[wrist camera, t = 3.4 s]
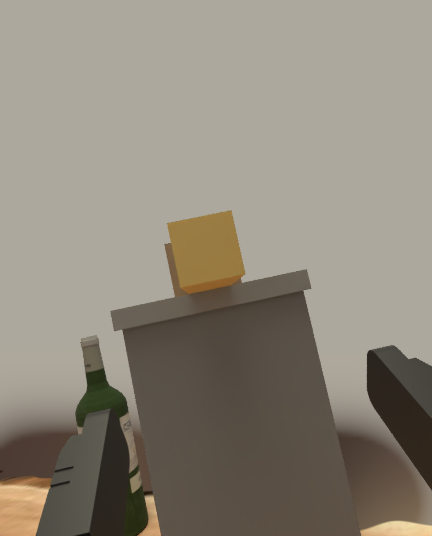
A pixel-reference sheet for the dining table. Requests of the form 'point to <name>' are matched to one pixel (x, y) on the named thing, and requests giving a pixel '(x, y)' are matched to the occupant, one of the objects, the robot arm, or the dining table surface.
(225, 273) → the peg
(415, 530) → the dining table surface
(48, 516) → the robot arm
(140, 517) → the wine bottle
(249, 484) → the stand
